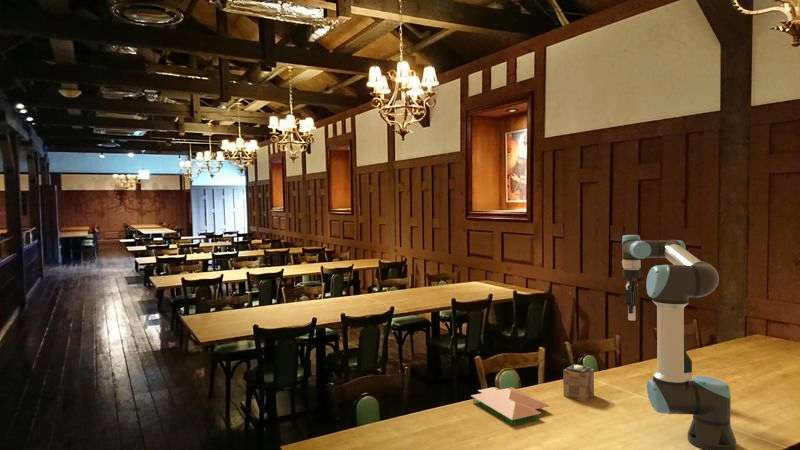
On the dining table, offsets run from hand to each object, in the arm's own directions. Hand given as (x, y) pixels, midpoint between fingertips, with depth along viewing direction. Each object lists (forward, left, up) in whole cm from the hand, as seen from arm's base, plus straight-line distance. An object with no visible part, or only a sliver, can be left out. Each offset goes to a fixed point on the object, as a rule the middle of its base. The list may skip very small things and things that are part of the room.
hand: (631, 320), depth 232 cm
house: (-49, +35, -35) cm, 70 cm away
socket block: (-17, +18, -34) cm, 42 cm away
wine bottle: (+10, -18, -35) cm, 40 cm away
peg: (-17, +18, -33) cm, 41 cm away
